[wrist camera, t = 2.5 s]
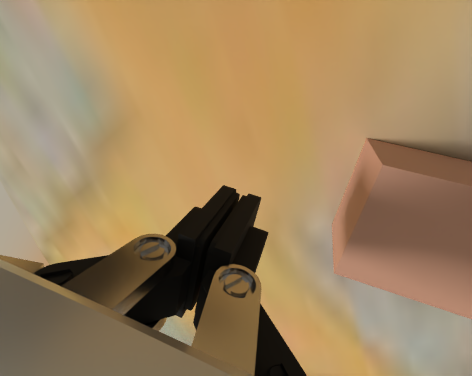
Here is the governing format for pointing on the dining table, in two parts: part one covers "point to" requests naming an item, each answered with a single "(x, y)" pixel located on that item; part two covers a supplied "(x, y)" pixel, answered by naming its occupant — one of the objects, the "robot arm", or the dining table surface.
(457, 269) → the terracotta block
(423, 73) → the dining table surface
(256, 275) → the robot arm
